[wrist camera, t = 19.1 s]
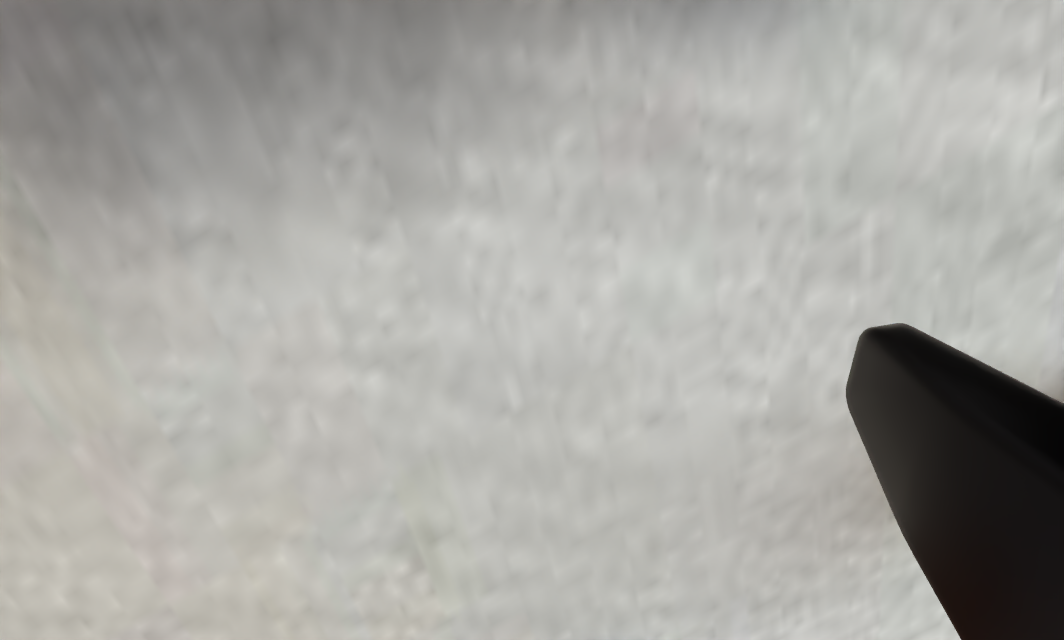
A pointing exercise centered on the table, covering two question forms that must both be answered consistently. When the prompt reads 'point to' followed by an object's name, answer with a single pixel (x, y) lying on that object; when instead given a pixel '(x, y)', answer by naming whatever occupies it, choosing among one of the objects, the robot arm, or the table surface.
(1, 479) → the table surface
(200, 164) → the table surface
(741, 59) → the table surface
